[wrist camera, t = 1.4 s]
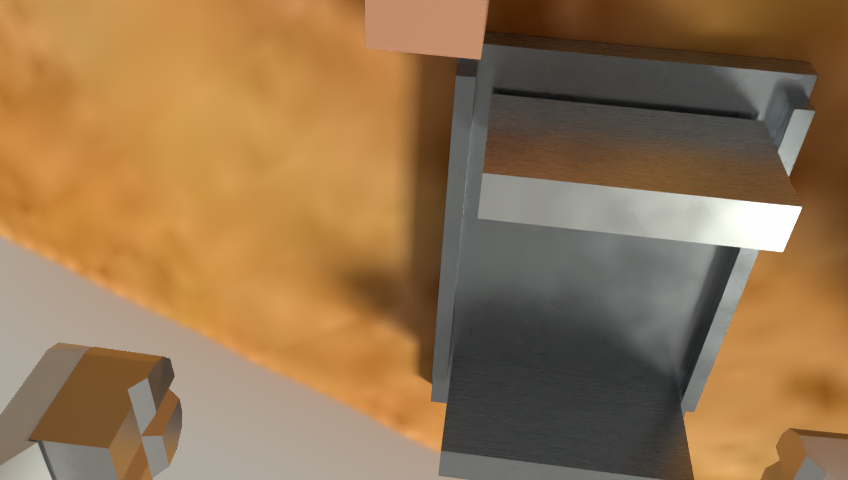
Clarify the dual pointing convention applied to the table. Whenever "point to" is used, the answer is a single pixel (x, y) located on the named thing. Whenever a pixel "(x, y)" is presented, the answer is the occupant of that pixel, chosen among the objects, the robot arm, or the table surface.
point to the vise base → (588, 277)
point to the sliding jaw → (636, 173)
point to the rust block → (427, 26)
